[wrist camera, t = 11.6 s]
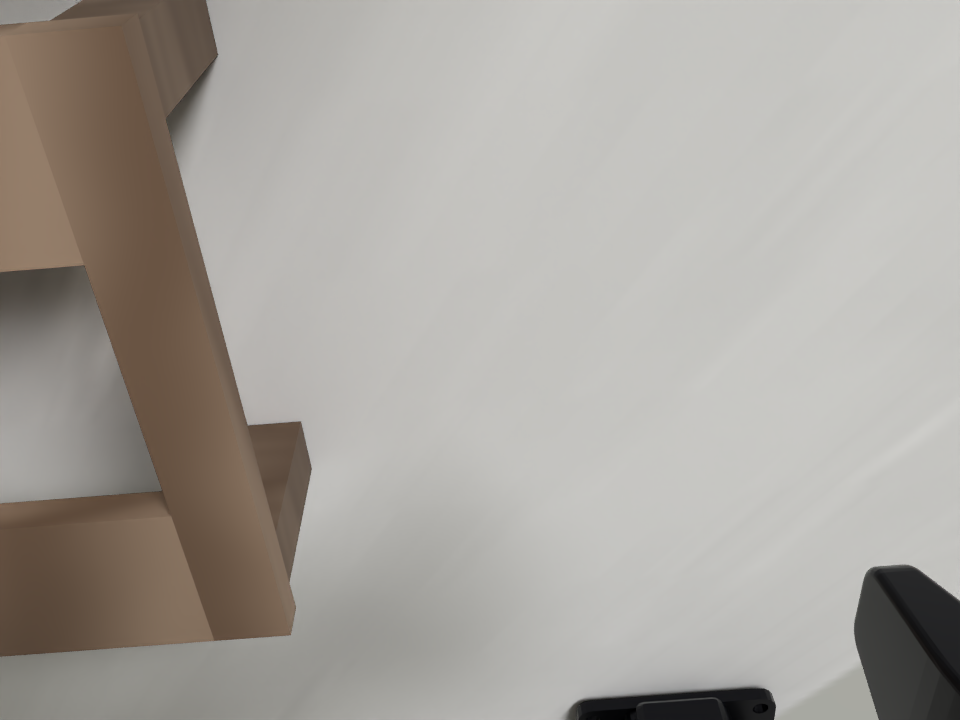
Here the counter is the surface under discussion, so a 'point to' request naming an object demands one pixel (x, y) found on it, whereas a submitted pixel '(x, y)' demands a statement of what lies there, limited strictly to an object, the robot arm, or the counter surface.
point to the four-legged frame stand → (137, 350)
